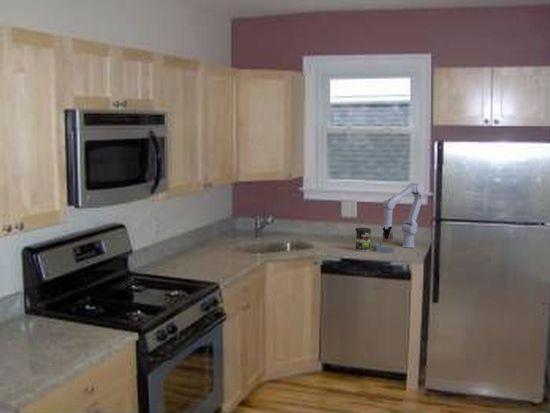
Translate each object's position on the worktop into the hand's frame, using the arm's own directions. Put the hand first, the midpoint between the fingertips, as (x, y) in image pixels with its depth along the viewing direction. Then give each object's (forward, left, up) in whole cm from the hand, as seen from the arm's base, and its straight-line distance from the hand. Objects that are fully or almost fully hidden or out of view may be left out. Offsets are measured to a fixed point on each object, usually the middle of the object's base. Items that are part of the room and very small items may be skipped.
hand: (386, 237), depth 419 cm
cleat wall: (+3, -1, -7) cm, 8 cm away
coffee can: (+9, -15, -8) cm, 19 cm away
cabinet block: (0, 0, -3) cm, 3 cm away
